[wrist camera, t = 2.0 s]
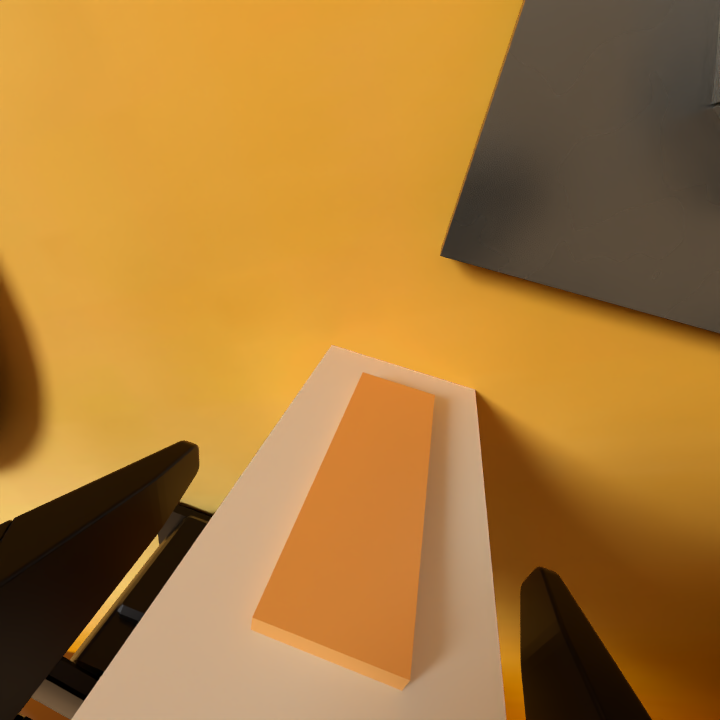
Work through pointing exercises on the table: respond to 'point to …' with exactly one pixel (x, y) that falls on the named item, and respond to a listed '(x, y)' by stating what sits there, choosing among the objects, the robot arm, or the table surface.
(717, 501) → the table surface
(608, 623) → the table surface
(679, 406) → the table surface
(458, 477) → the white block
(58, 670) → the robot arm
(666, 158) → the duct collar
